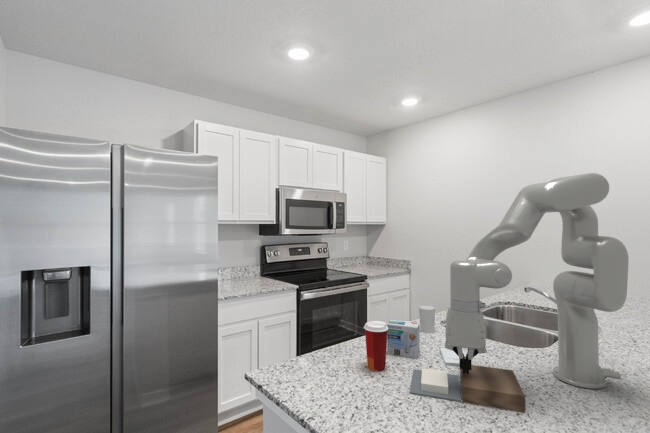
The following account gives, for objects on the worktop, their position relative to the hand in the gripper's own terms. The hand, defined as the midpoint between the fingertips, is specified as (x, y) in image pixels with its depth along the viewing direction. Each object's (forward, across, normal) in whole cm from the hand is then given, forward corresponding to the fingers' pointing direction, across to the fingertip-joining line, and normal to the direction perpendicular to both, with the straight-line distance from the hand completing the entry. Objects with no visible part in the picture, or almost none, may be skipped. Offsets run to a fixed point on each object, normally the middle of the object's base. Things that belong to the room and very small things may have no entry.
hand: (465, 371), depth 92 cm
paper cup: (+5, +26, -6) cm, 27 cm away
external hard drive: (+6, +2, -22) cm, 22 cm away
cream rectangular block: (+3, +8, 0) cm, 9 cm away
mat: (+5, +8, 0) cm, 9 cm away
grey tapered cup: (+5, +12, -49) cm, 50 cm away
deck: (+5, -6, 0) cm, 8 cm away
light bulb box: (+5, +19, -21) cm, 29 cm away
